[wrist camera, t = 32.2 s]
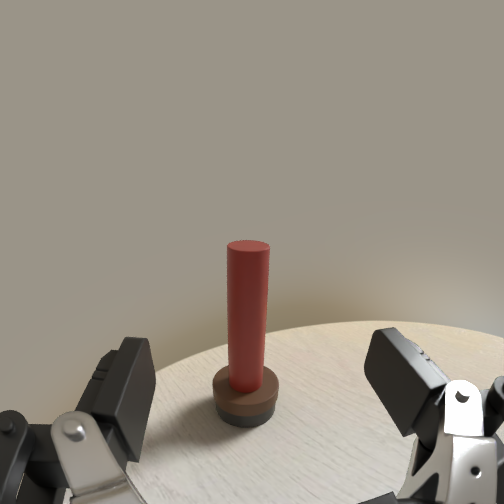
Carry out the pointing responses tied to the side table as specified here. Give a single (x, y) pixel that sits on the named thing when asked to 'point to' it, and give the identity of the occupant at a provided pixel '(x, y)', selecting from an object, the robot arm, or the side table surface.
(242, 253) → the red peg on stand
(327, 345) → the side table surface
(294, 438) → the side table surface
